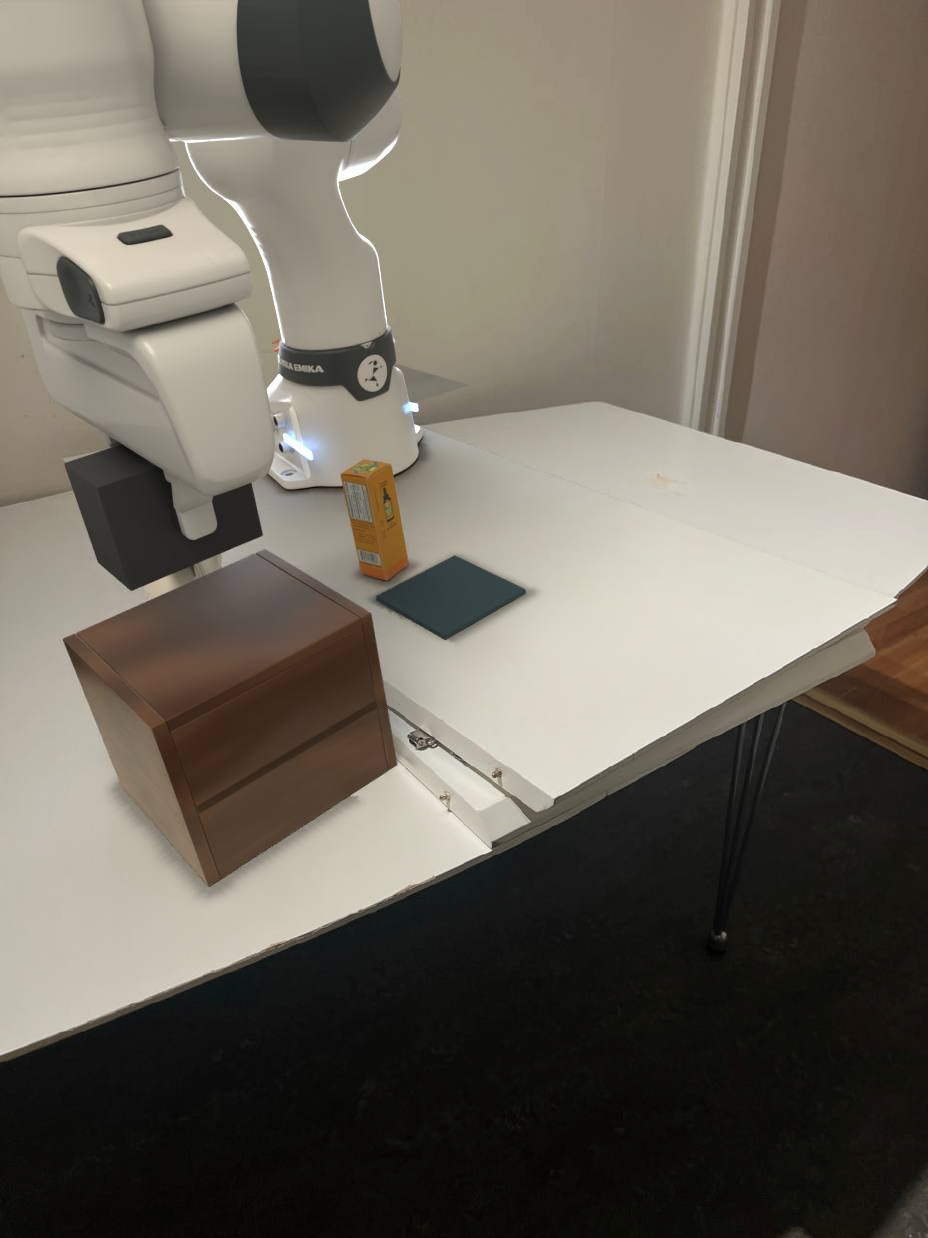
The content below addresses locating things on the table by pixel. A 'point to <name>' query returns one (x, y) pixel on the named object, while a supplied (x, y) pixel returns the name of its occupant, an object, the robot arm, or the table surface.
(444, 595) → the pad
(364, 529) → the supplement box
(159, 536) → the dark gray rectangular box
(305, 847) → the table surface
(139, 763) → the wooden drawer unit
